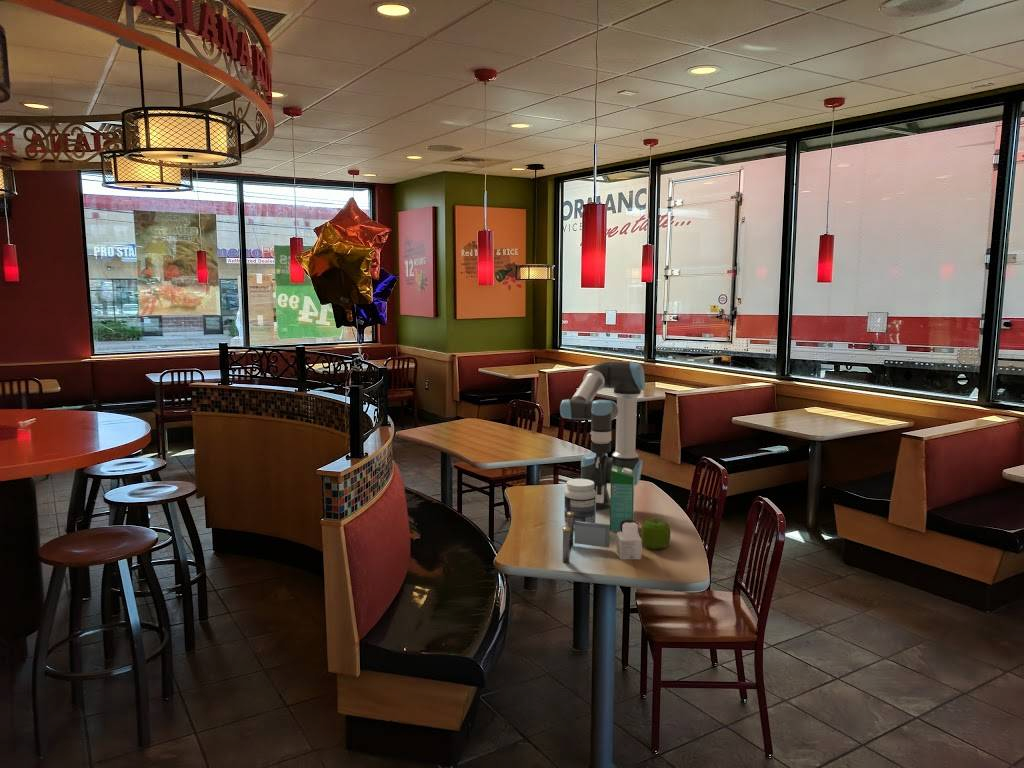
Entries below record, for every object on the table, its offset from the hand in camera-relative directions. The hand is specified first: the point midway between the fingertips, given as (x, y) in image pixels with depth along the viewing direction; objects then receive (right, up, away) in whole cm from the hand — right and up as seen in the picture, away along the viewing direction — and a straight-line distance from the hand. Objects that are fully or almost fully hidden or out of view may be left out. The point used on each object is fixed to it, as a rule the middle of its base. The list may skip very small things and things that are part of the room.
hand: (599, 502), depth 274 cm
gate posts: (-13, -18, -8) cm, 23 cm away
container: (+9, -18, -10) cm, 23 cm away
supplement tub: (-5, -14, +23) cm, 27 cm away
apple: (+21, -17, -1) cm, 27 cm away
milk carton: (+11, -14, +20) cm, 27 cm away
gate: (-3, -16, -3) cm, 16 cm away
